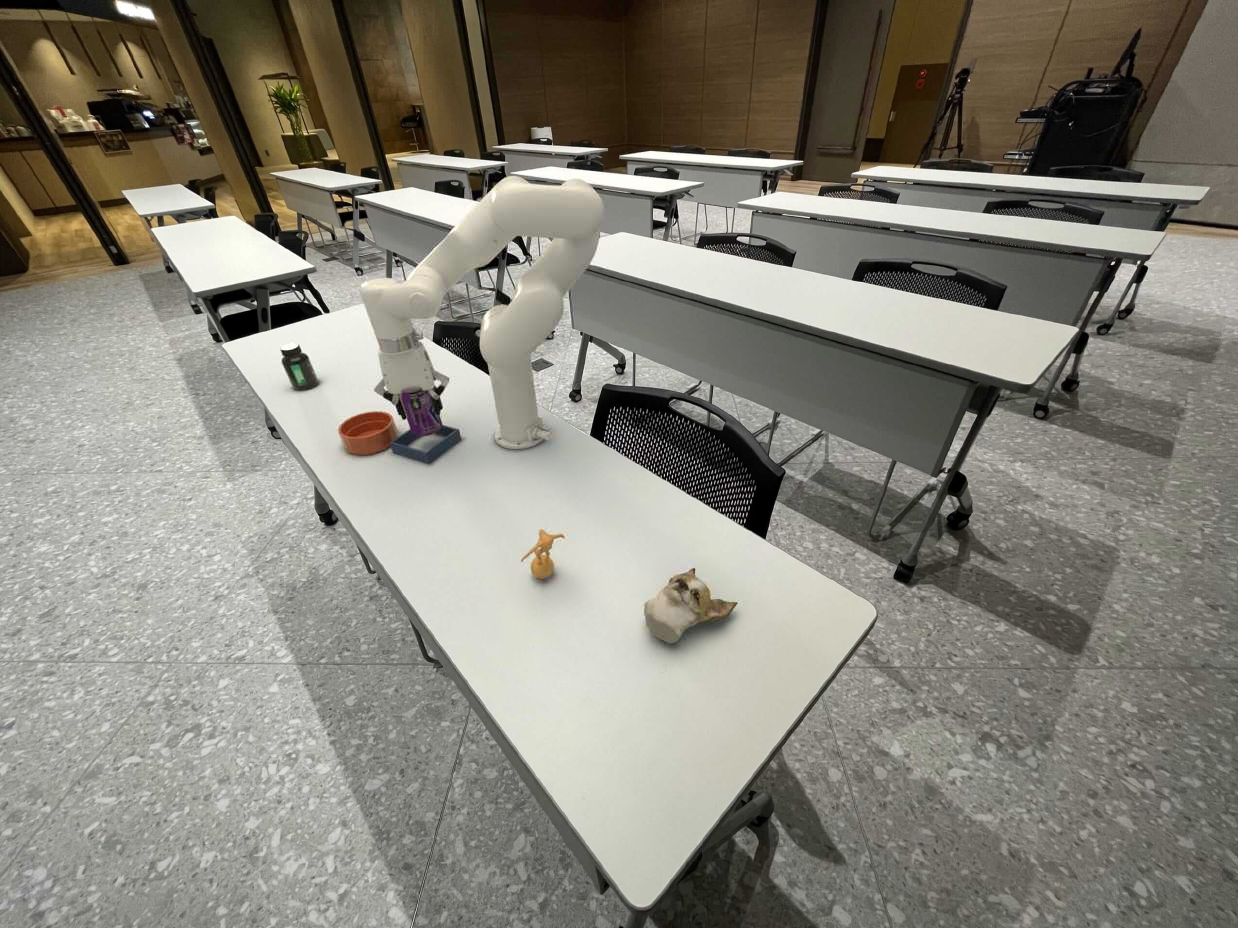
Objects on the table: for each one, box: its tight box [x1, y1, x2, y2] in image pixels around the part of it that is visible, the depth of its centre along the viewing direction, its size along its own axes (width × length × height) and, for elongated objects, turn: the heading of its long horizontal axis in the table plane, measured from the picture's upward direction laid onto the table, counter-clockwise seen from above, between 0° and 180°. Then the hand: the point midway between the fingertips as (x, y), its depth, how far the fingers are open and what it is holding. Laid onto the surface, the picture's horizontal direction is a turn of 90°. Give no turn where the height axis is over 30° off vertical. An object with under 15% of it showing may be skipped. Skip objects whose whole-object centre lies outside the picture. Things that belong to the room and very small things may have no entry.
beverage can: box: [399, 388, 444, 437], centre depth 114 cm, size 7×7×12 cm
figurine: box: [520, 528, 565, 580], centre depth 83 cm, size 8×6×12 cm
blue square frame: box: [390, 424, 462, 465], centre depth 119 cm, size 11×11×3 cm
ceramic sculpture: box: [643, 567, 739, 644], centre depth 77 cm, size 11×9×15 cm
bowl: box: [337, 410, 400, 456], centre depth 121 cm, size 12×12×5 cm
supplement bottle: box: [279, 343, 319, 391], centre depth 144 cm, size 7×7×12 cm
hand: (422, 414), depth 115 cm, fingers closed on beverage can, 6 cm apart
